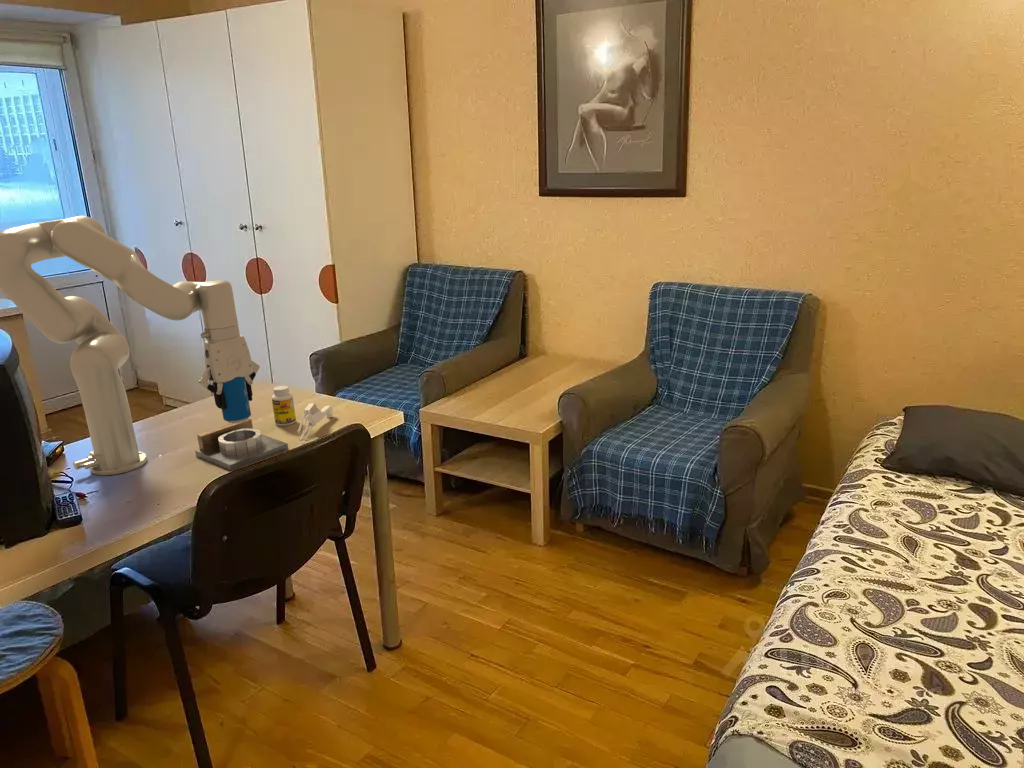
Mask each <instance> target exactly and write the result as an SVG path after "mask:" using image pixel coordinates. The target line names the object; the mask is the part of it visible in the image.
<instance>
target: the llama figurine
mask: <svg viewBox="0 0 1024 768" xmlns="http://www.w3.org/2000/svg"><path fill="white" fill-rule="evenodd" d="M333 410H334V408H333V406H332V405H324V407H323V408H321V409H319V408H318V406H317V405H316V403H315V402H312V403H311V402H309V403H308V405H307V406H306V407H305V408H304V410H303V413H304V414H303V415H302V416H301V420H300V424H299V426H298V429H297V431H296V433H297V434H299V435H300V434H301V436H300V438H299V439H298V440H300V441H303V437H304V435H305V434H306V433H307V434H306V436H305V438H304V441H307V438H308V437H309V435H310V433H311V431H312V429H313V428H314V427H316V425H317V424H318V423H319V422H320V421H322V420H323V419H324V418H325V417H326V418H330V417H332V418H333V412H334V411H333ZM303 422H304V425H303ZM302 426H303V428H302ZM309 428H310V429H309ZM301 429H302V430H301ZM308 429H309V430H308ZM307 431H308V432H307Z"/></svg>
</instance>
